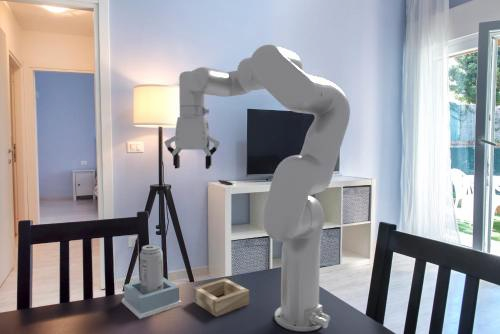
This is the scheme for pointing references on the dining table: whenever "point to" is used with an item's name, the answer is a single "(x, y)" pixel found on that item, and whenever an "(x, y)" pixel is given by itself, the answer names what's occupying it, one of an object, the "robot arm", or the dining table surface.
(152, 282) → the energy drink can
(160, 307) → the port socket
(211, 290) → the wooden open box
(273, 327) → the dining table surface
